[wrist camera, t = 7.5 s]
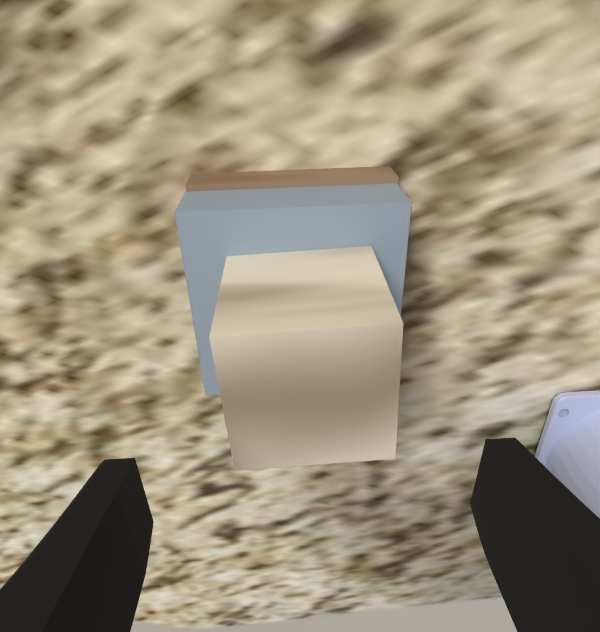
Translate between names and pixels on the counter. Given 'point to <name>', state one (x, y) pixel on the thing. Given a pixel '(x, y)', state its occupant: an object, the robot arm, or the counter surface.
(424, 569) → the counter surface
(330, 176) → the walnut slab
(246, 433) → the birch block
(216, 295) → the slate slab
